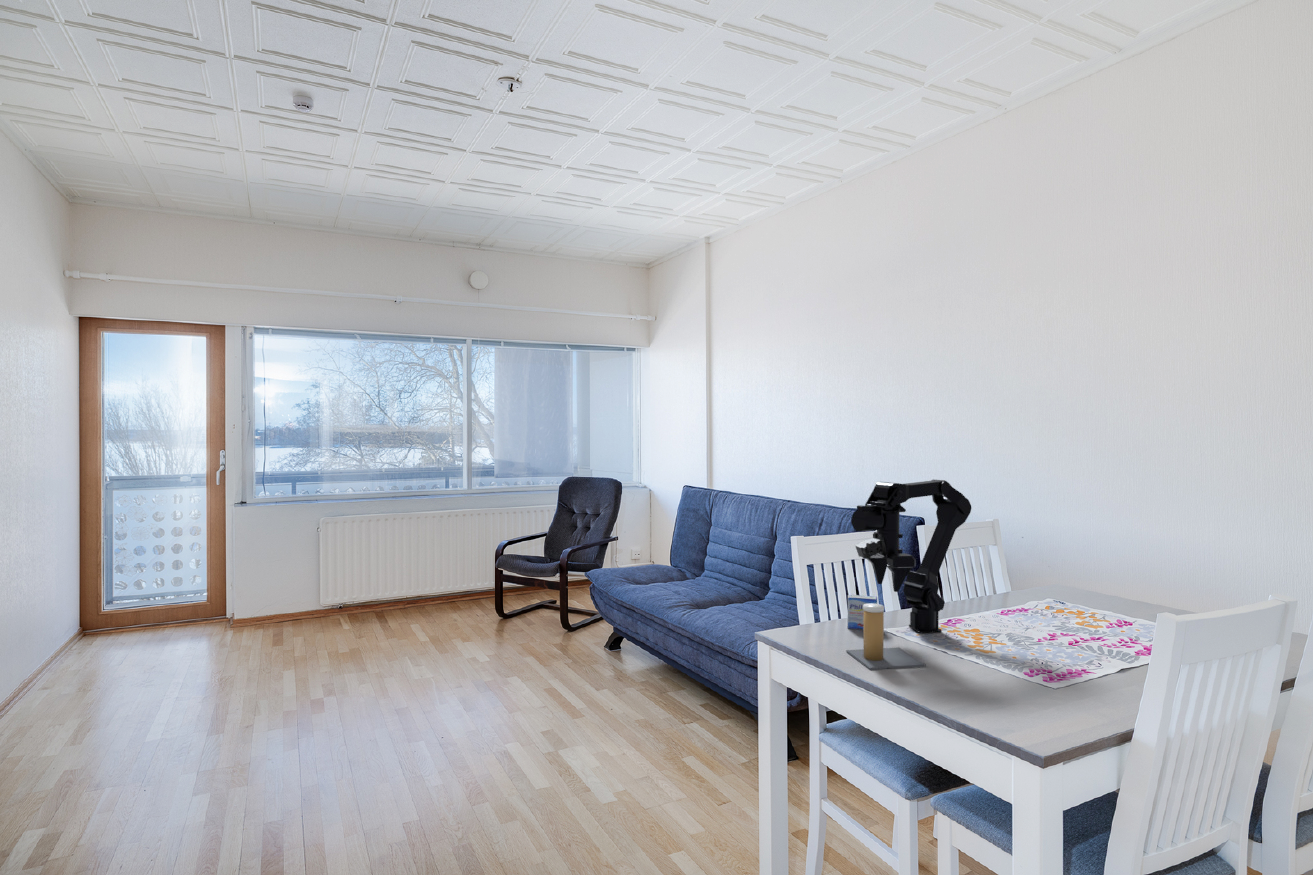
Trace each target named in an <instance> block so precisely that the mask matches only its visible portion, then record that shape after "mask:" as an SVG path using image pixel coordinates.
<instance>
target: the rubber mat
mask: <svg viewBox="0 0 1313 875" xmlns="http://www.w3.org/2000/svg"><path fill="white" fill-rule="evenodd" d="M845 652H846V654H848V655H849V656H851V657H852V658H853V659H855V660H856V661H857V662H858V663H860V664H862V665H863V666H864V667H865V668H866V669H868V670H870V671H872V670H873V671H874V670H888V669H887V668H892V669H903V668H904V669H906V668H909V669H910V668H923V667H927V663H924V661H922V660H920V659H919V658H917V657H916V656H914V655H912V654H910V652H908V651H906V650H904V649H902V648H901V647H898V646H897V647H883V660H880V661H872V660H867V659H865V658H864V657H863V653H864V648H861V649H847V650H846V651H845Z"/></svg>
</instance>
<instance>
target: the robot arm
mask: <svg viewBox="0 0 1313 875" xmlns="http://www.w3.org/2000/svg"><path fill="white" fill-rule="evenodd" d="M930 496H931V497H932V502H933V504H934V505H935V506H936V512H935V513H936V514H935V515H936V518H937V524H936V526H935V529H934V531H933V534H932V536H931V539H930V540H929V543H928V546H927V549H926V551H925V553H924V556H923V558H922V561H921V563H920V565H919V568H918V569H917V570H915V571H912V570H913V569H914V568H915V567H916V566H917V564H916V563H917V562H916V561H917V560H916V557H914V555H911V554H908V553H904V552H903V549H901V548H900V539H903V533H900V513H905V512H907V510H906V508H905V507H904V506H902V505H901V504H903V503H906V502H907V501H908V500H910V499H913V498H914V499H915V498H923V497H930ZM971 512H972V505H971V502H970V500H969V499H968V498H967V497H966V496H965V495H964V494H963V493H962V492H960V491H958V489H956V488H954V487H953V486H952V485H951V484H950V483H949V482H948V481H947V480H943V479H931V480H925V481H917V482H907V483H896V482H888V481H887V482H886V481H877V482H876V483H875V485H874V488H873V489H872V491H871V493H870V495H869V497H868V499H867V500H866V501H865V503H864V505H862V504H861V505H860V504H859V505H857V506H856V510H854V512H853V513H852V515H851V519H850V520H851V526H852V528H853V529H854V531H856V532H859V533H862V532H873V533H872V538H868V539H866V540H864V541H861V542H858V543H856V544H855V545H854V546H855V549H856V553H857V555H858V558H860V557H861V558H862V559H865V560H867V561H868V562H870V564H871V566H872V569H873V572H874V576H875V579H876V583H877V585H882V584H883V581H884V578H885V575H886V571H887V569H888V570H889V571H890V572H891V579H892V587H893V591H894V592H895V593H899V591H900V589H901V587H902V585H903V589H902V590H903V591H902V592H903V593H904V594H903V595H904V596H905V599H906V600H905V601H906V604H907V605H908V606H911V611H910V614H909V619H910V620H909V624H908V627H909V628H911V629H912V630H914V631H916V632H918V633H920V634H924V633H942V631H943V630H942V629H941V628H939V612H940V611H943V610H944V608H945V601H944V599H943V598H942V597H941V596H940V595H939V593H938V592H939V588H940V585H939V579H938V574H939V572H940V570H941V567H942V564H943V562H944V559H945V557H946V555H947V552H948V550H949V547H950V544H951V542H952V540H953V537H954V535H955V533H956V530H957V529H958V528H959V527H960V526H962V525H964V524H965V523H966V521H967V520H968V518H969V515H970V514H971Z"/></svg>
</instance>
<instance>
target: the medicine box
mask: <svg viewBox="0 0 1313 875" xmlns="http://www.w3.org/2000/svg"><path fill="white" fill-rule="evenodd" d="M869 603H873V604H878V596H873V595H860V594H848V595H847V629H848V630H849V629H850V630H851V629H852V630H864V610H863V605H864V604H869Z"/></svg>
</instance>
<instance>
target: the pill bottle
mask: <svg viewBox="0 0 1313 875" xmlns="http://www.w3.org/2000/svg"><path fill="white" fill-rule="evenodd" d="M863 610H864V629H863V649H864V653H863V657H864V658H865V659H867V660H872V661H880V660H883V648H884V630H885V628H884V626H885V625H884V622H885V621H884V620H885V619H884V616H885V615H884V612H885V605H883V604H880V603H877V604H873V603H869V604H864V605H863Z"/></svg>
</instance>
